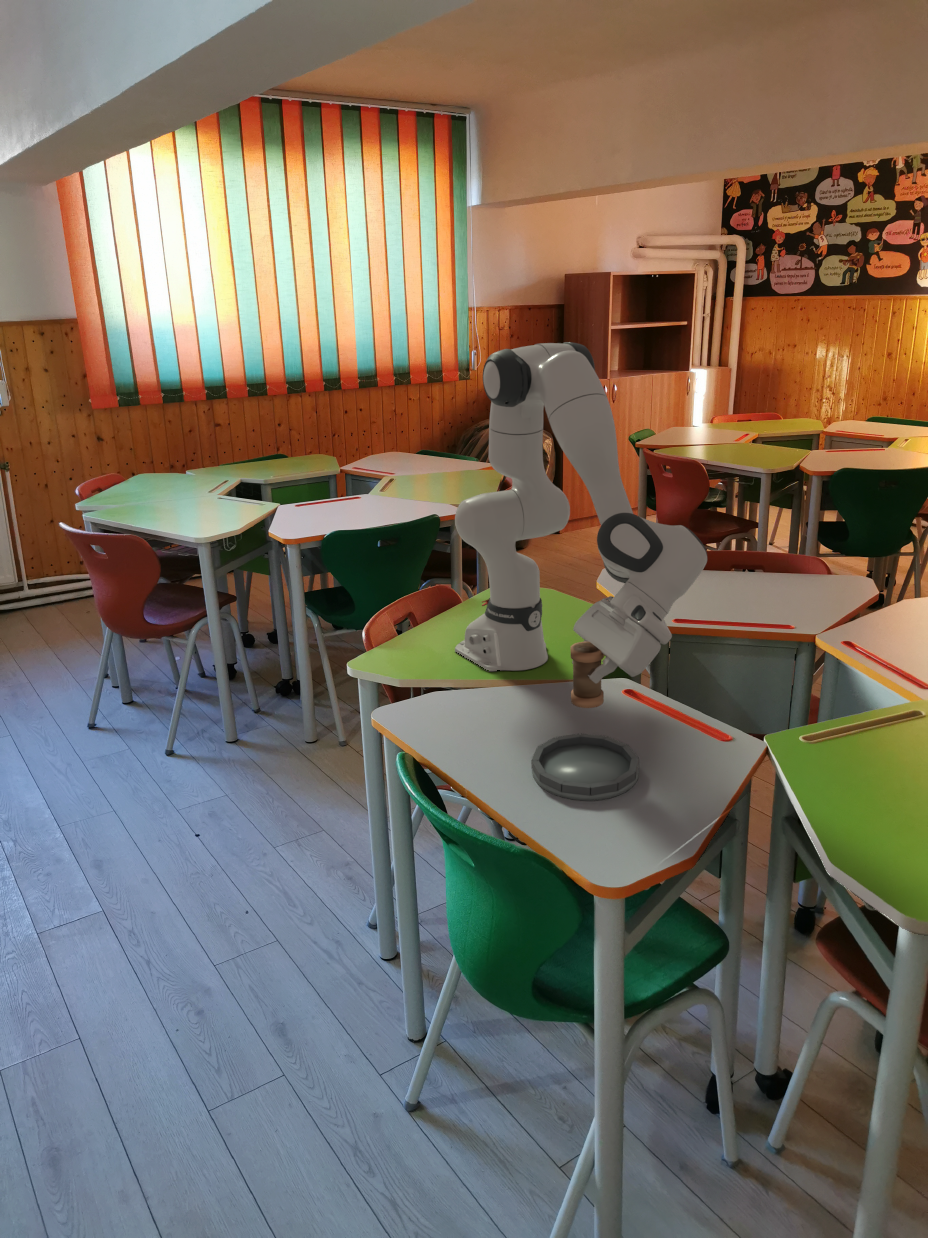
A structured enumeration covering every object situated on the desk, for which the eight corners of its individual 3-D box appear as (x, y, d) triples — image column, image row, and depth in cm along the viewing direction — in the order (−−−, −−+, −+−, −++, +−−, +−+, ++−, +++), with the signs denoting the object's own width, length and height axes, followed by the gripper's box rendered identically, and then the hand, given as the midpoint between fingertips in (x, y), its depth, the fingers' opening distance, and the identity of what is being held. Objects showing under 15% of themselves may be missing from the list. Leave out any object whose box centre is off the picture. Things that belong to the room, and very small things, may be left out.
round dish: (510, 773, 155) (510, 760, 154) (578, 735, 167) (578, 723, 166) (592, 813, 143) (593, 800, 142) (659, 770, 154) (660, 757, 153)
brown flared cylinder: (564, 701, 154) (563, 648, 151) (584, 691, 158) (584, 639, 154) (589, 711, 150) (589, 656, 147) (610, 700, 154) (610, 646, 150)
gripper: (597, 583, 159) (547, 642, 160) (653, 619, 141) (597, 686, 141) (619, 603, 162) (570, 661, 162) (677, 641, 143) (622, 706, 144)
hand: (583, 673), depth 152 cm, fingers closed on brown flared cylinder, 5 cm apart
